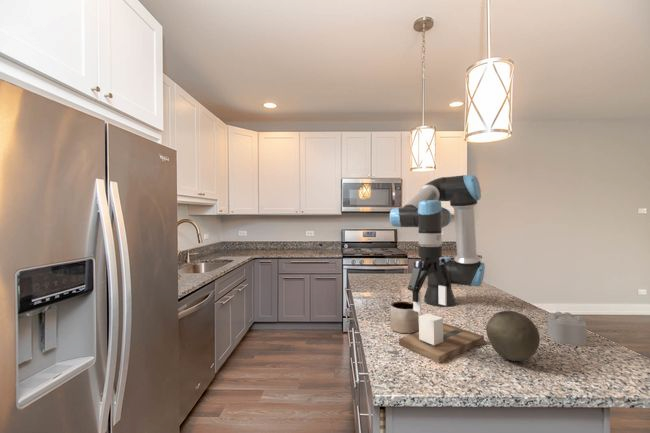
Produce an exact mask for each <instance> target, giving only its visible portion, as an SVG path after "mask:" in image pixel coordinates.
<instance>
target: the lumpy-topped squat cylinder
mask: <svg viewBox="0 0 650 433" xmlns="http://www.w3.org/2000/svg"><path fill="white" fill-rule="evenodd" d="M546 317H547V318H546V319H547V336H548V337H549V339H551V340H552V341H553V342H556V343H558V344H563V345H571V346H579V347H586V346H587V345H588V343H587V341H588V340H587V338H588V336H587V333H588V332H587V329H588V328H587V323H586V322H585V321H584V318H583V317H582V316H580V315H575V316H574V315H572V314H571V313H570V312H569V311H568V312H564V313H563V312H561V311H555V312H550V313H549V314H548V315H547V316H546Z"/></svg>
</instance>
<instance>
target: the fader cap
mask: <svg viewBox="0 0 650 433" xmlns="http://www.w3.org/2000/svg"><path fill="white" fill-rule="evenodd" d="M443 323H444V318H443V317H441V316H439V315H436V314H435V315H434V314H431V313H424V314H422V315H418V327H419V328H418V332H419V339H420V340H422V341H425V342H427V343H429V344H432V345H436V344H439V343H441V342H443Z"/></svg>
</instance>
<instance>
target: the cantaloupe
mask: <svg viewBox="0 0 650 433" xmlns="http://www.w3.org/2000/svg"><path fill="white" fill-rule="evenodd" d="M486 335H487V340H488V341H489V343H490V345H491V347H492V348H493V350H494V352H496V353H497V354H498V355H499V356H500V357H502V358H504V359H506V360H508V361H510V362H511V361H512V362H519V361H520V362H521V361H526V360H528V359H531V357H532V358H533V356H534V355H535V354H536V353H537V351H538V348H539V347H540V343H541V341H540V338H541V336H540V333H539V329H538V327H537V326H536V324H535V323H534V322H533V321H532V319H530V318H529V317H528V316H526V315H524V314H523V313H521V312H517V311H512V310H502V311H498V312H495V314H493V315H492V316H491V317H490V319H489V320H488V321H487V323H486Z"/></svg>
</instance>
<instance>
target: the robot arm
mask: <svg viewBox="0 0 650 433" xmlns="http://www.w3.org/2000/svg"><path fill="white" fill-rule="evenodd" d="M481 190H482V189H481V186H480V182H479V180H478V177H477V176H476V175H473V174H471V175H469V174H467V175H466V174H463V175H454V176H447V177H446V176H443V177H438V178H435V179H433V180H430V181H429V182H427V183H425V184H424V185H423V186H421V188H420V189H419V191H418V193H417V194H416V195H415V196H413V198H411V199H410V200H409V201H408V202H407V203H406V204H405V205H404V206H402V207H395V208H392V209H391V210H390V212H389V223H390V225H391V227H396V228H418V231H417V232H418V234H417V236H418V237H417V239H418V241H417V242H418V243H417V244H418V245H419V246H418V257H419V258H420V261H419V260H414V261H413V262H414V263H413V269H412V272H411V275H410V279H409V282H408V285H407V290H409V291H411V292H412V303H413V311H416V312H418V313H422V310H423V309H422V291H421V288H422V287H423V285H424V283H425V281H426V279H427V287H426V290H425V293H424V296H423V302H424V303H425V304H428V305H430V306H437V307H452V306H455V305H456V298H455V295H454V293H453V289H452V285H458V286H459V285H460V286H467V287H477V288H478V287H480V286H482V283H483V280H484V277H485V276H484V275H485V267H486V266H485V263H484V262H482V261H481V258H480V257H479V256H478V255H477V239H476V238H477V237H476V224H475V223H476V222H475V218H476V217H475V207H476V206H477V205H478V201H480V200H481V198H482V193H481V192H482V191H481ZM442 202H449V205H450V207H452V208H453V211H454V212H453V213H454V215H453V216H454V230H455V242H456V243H455V244H456V255H455V257H454V258H453V260H452V258H451V256H444V257H443V248H442V246H441V245H442V243H443V242H442V231H443V230H442V228H445V227H447V226H448V225H450V223H452V218H453V217H452V213H451V211H450V210H449V209H447V208H446V207H444V206H442Z"/></svg>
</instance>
